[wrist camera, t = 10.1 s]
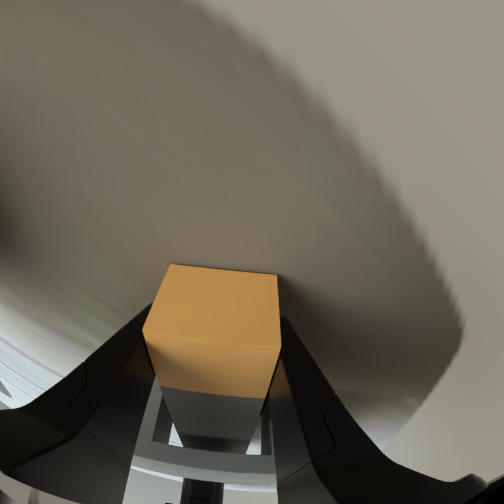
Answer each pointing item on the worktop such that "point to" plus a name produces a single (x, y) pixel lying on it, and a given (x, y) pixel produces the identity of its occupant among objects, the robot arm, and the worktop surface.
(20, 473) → the robot arm
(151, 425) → the housing
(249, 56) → the worktop surface
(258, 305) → the plug
